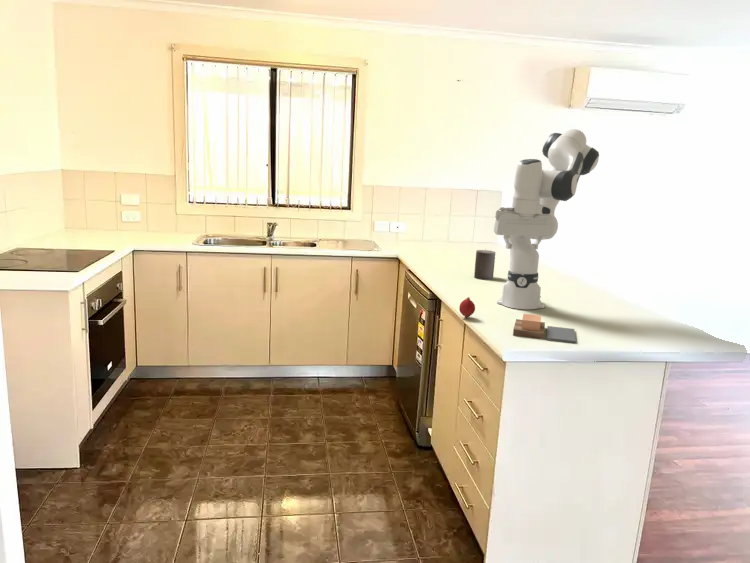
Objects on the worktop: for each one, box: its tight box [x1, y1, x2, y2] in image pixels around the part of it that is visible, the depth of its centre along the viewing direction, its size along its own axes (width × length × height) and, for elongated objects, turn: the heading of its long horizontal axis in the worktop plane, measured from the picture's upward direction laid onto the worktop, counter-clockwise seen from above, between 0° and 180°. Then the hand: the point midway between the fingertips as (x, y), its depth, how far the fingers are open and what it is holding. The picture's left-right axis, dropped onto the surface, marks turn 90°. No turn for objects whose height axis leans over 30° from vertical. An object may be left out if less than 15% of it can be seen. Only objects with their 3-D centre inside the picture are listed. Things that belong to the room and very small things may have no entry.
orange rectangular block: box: [521, 313, 542, 331], centre depth 194 cm, size 9×6×3 cm, turn 163°
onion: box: [458, 296, 476, 319], centre depth 209 cm, size 6×6×8 cm
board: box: [512, 318, 546, 340], centre depth 195 cm, size 14×10×2 cm
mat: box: [546, 325, 577, 344], centre depth 191 cm, size 15×9×1 cm, turn 163°
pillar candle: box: [473, 249, 496, 281], centre depth 285 cm, size 10×10×15 cm
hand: (521, 248), depth 192 cm, fingers open, 8 cm apart
